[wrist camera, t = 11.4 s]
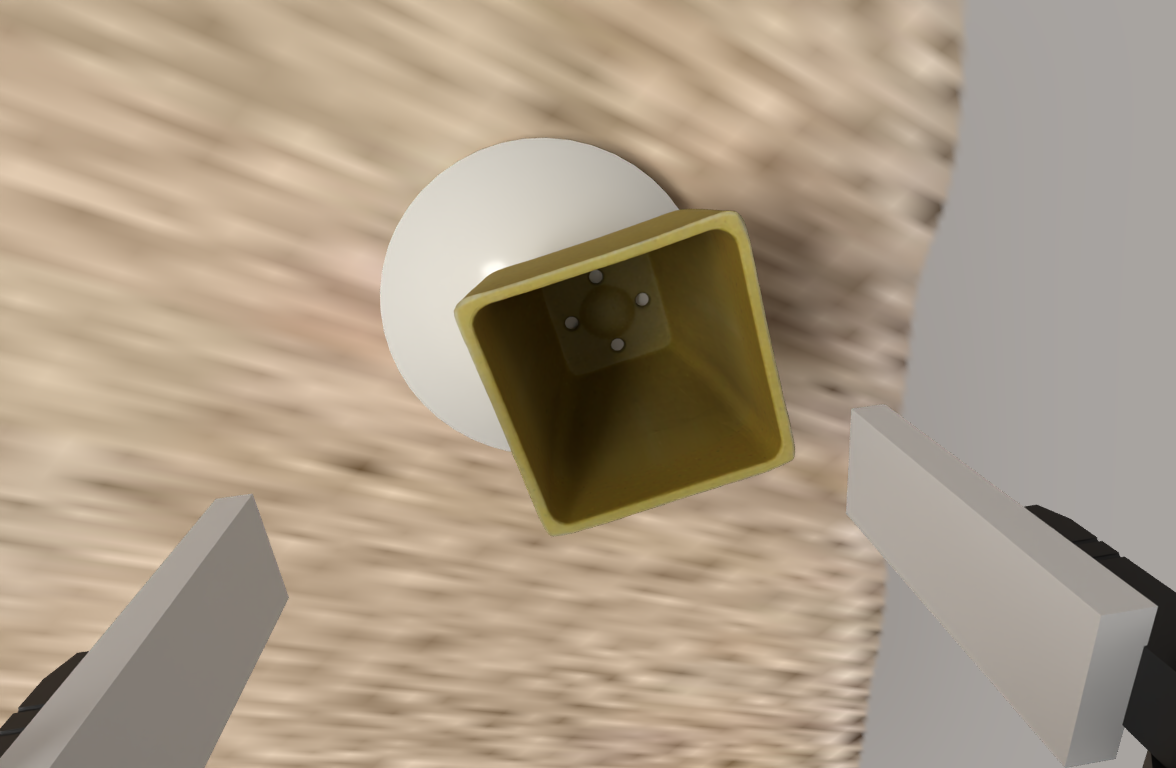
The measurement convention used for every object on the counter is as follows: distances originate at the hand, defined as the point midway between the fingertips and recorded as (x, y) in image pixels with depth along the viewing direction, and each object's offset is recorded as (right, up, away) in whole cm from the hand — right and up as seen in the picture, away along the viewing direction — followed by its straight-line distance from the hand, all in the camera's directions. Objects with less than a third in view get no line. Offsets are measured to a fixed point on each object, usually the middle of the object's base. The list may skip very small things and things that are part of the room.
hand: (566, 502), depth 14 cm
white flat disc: (-1, +6, +15) cm, 16 cm away
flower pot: (+1, +6, +14) cm, 15 cm away
